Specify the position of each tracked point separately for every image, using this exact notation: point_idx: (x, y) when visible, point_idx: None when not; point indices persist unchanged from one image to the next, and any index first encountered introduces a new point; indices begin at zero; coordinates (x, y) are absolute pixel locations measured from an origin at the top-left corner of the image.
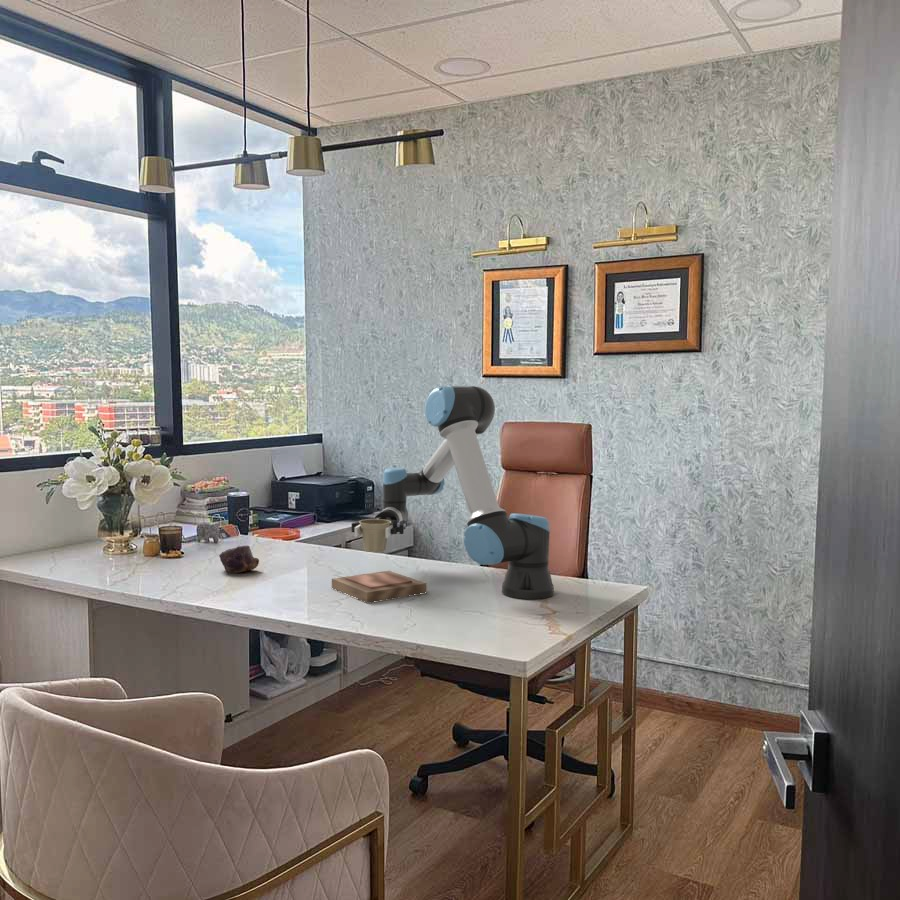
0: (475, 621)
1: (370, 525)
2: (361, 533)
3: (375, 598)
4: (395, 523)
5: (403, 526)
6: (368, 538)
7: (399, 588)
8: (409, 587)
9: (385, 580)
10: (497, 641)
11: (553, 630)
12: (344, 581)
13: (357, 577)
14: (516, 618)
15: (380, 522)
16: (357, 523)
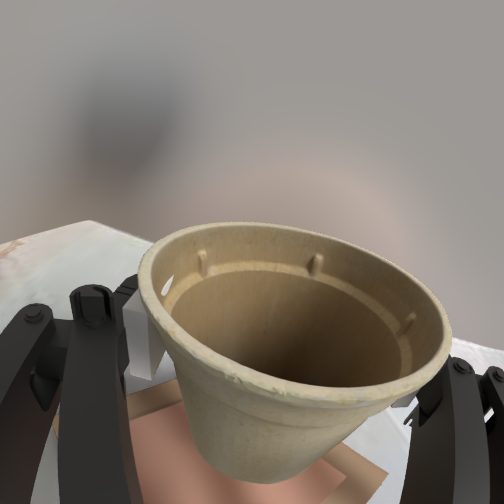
0: (63, 274)
1: (300, 242)
2: None
3: None
4: (94, 287)
5: (23, 317)
6: (298, 329)
7: (143, 392)
8: None
9: (187, 453)
10: (81, 239)
11: (13, 247)
12: (336, 453)
13: (307, 488)
14: (11, 274)
15: (285, 404)
16: (501, 408)
